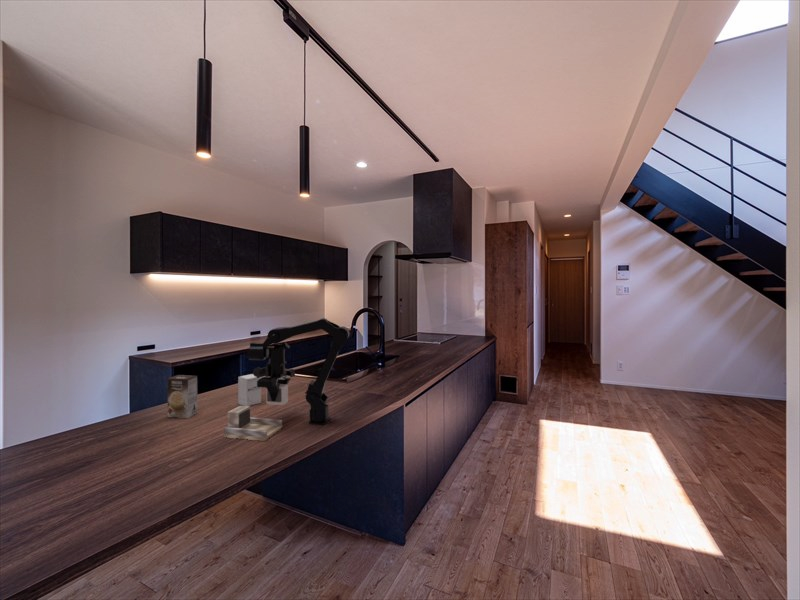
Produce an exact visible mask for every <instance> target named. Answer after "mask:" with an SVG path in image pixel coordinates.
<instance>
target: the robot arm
mask: <svg viewBox="0 0 800 600" xmlns="http://www.w3.org/2000/svg"><path fill="white" fill-rule="evenodd" d="M318 330H322V331H324V332H325V333H326V334H328V335H330V336H331V337H332V338H331V342H330V343H331V344H330V348H329V350H328V353H327V355H326V357H325V358H324V359H325V360H324V361H323V364H322V366H321V368H320V370H319V372H318V374H317V377H316V379H315V380H314V379H312V380H310V382H309V384H308V387H307V389H306V391H305V392H304V394H305V401H306V402H307V403H308V404H309V405H310V406H309V407H310V409H309V421H308V423H309V424H315V425H325V424H326V423H327V422H329V420H331V417H330V416H329V404H327V403H328V400H329V397H328V395H327V394H325V392H324V391H325V386H326V382H327V379H328V377H329V375H330V372H331V370H332V368H333V366H334V364H335V361H336V359H337V357H338V354H339V353H340V350H341V349H342V348H343V346H344V345H345V343H346V342H347V340H348V338H349V337H350V330H349V329H348V328H347V327H346V326H340V325H338V324H336V323H334V322H333V321H330V320H328V319H327V318H325V317H322V318H320V319H317V320H314V321H309V322H305V323H302V324H297V325H294V326H281V327H280V326H278V327H275V328H272V329H270V330H269V331H268V332H267V336H266V338H265V340H264V341H263V342H249V348H248V351H247V358H248V360H249V361H265V360H266V359H267V358H268V359H269V360H268V363H267V362H266V365H265V367H260V366H258V367H255V368H253V373H252V374H253V375H254V376H255V377H257V378H260V377H261V379H259V380H258V381H257V387H261V388H265V389H266V388H267V389H268V391H269V394H270V397H271V399H272V401H275V400H276V397H277V393H278V390H279V386H280V384H288V385H289V383H290V381H291V379H292V378H294V377H295V375H296V371H295V370H294V369H293V368H286V367H285V365H287V363H288V362H287V360H286V358H285V354H286V353H285V351H286V350H288V349H290V347H291V345H289V344H288V343H287V341H286V340H289V339H290V338H292V337H295V336H299V335H303V334H307V333H310V332H314V331H318ZM283 341H285V342H283ZM281 342H283V343H281ZM273 344H274V345H273ZM272 345H273V346H272ZM289 376H290V377H289Z"/></svg>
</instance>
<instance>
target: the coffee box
mask: <svg viewBox="0 0 800 600" xmlns="http://www.w3.org/2000/svg"><path fill="white" fill-rule="evenodd" d="M196 413H197V414H198V375H189V374H188V375H186V374H177V375H174V376H170V377H168V378H167V417H168V418H174V417H177V418H178V419H189V418H191V417H193V416H194V414H195V415H197V414H196Z"/></svg>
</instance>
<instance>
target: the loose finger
mask: <svg viewBox="0 0 800 600" xmlns="http://www.w3.org/2000/svg"><path fill="white" fill-rule="evenodd" d="M265 389H266V390H265V391H266V393H265V394H266V397H265V398H266V399H265V400H266V402H265V403H266V405H276V406H284V405H286V404H288V402H289V383H288V384H280V386H279V390H278V393H277V397H276V400H275V401H272V399H271V397H270V394H269V391H268V389H267V388H266V387H265Z"/></svg>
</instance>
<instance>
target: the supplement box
mask: <svg viewBox="0 0 800 600" xmlns="http://www.w3.org/2000/svg"><path fill="white" fill-rule="evenodd" d="M253 374H254V373H250V374H246V375H241V376H238V377H237V378H238V379H237V383H238V385H237V387H238V389H237V393H238V394H237V397H238V399H237V400H238V401H237V402H238V405H240V406H250V407H251V406H253V405H257V404H261V403H262V387H257V381H258V380H259V379H261V378H262V377H260V378H257V377H255V376H254V375H253Z"/></svg>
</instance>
